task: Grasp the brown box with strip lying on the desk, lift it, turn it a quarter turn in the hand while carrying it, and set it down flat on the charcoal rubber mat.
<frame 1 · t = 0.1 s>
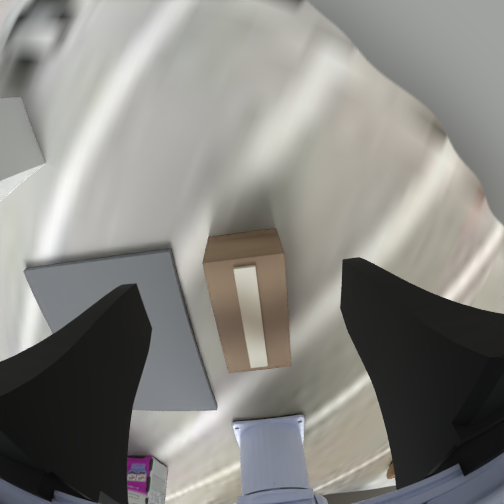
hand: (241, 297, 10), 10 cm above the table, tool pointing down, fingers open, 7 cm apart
candy bar box: (134, 461, 35), on the table
white cube: (11, 149, 16), on the table
brown box with strip: (250, 288, 22), on the table
rubber mat: (123, 348, 24), on the table
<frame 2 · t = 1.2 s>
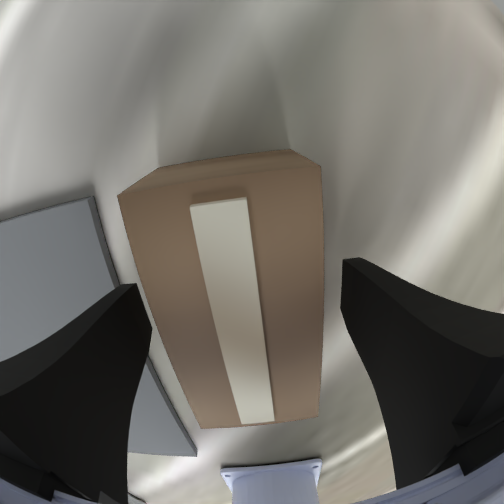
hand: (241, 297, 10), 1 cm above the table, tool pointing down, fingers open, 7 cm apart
candy bar box: (106, 492, 25), on the table
brown box with strip: (240, 273, 12), on the table
rubber mat: (52, 367, 14), on the table
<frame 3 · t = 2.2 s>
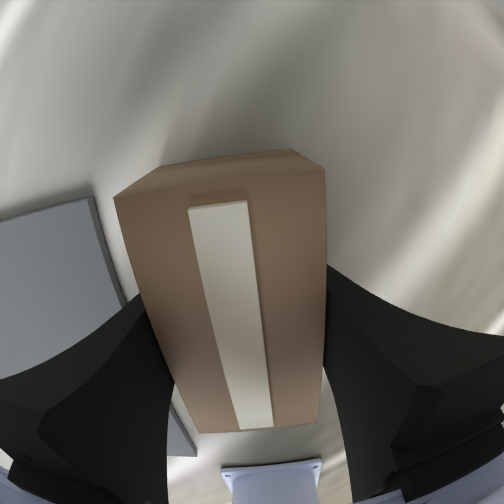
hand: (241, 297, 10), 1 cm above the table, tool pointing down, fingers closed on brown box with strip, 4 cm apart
brown box with strip: (240, 275, 11), on the table, touching gripper
rubber mat: (52, 367, 14), on the table
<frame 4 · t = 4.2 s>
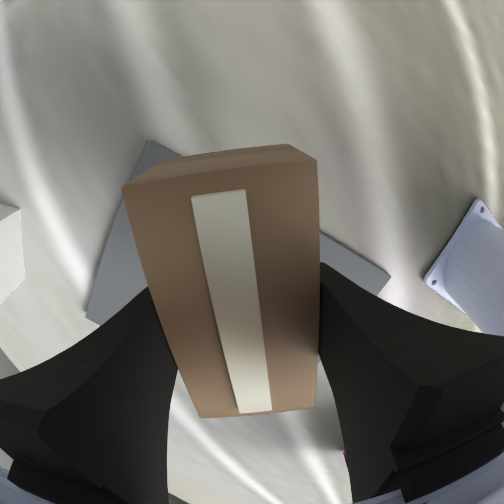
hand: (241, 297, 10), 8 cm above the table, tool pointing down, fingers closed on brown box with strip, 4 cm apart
white cube: (0, 236, 17), on the table
brown box with strip: (239, 264, 12), point 6 cm above the table, touching gripper
rubber mat: (229, 298, 20), on the table
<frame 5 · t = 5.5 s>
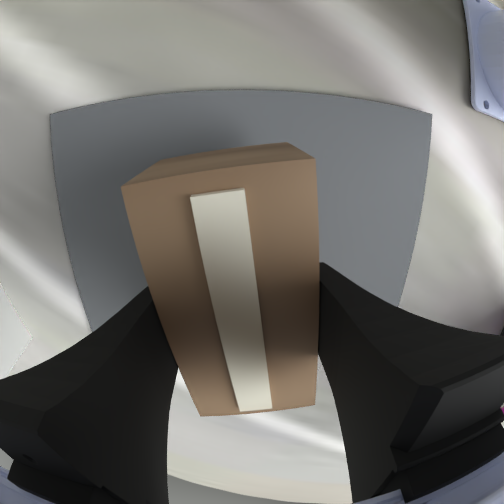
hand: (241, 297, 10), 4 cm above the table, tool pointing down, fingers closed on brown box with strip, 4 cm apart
brown box with strip: (239, 263, 12), point 2 cm above the table, touching gripper
rubber mat: (240, 244, 14), on the table
when the fingers open (3 cm above the table, at t = 6.6 s): brown box with strip stays where it is, resting on rubber mat.
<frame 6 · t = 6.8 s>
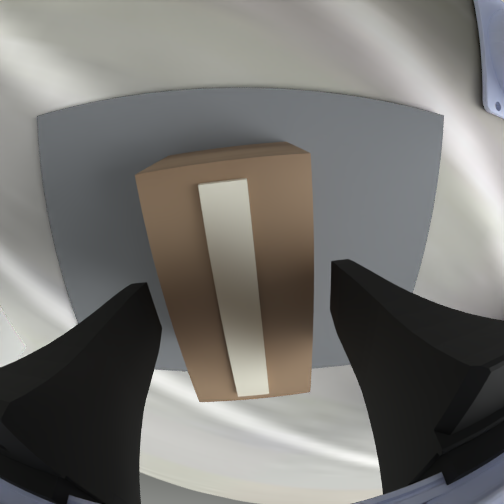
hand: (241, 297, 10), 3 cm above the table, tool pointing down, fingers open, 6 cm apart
brown box with strip: (239, 254, 13), resting on rubber mat
rubber mat: (240, 254, 13), on the table
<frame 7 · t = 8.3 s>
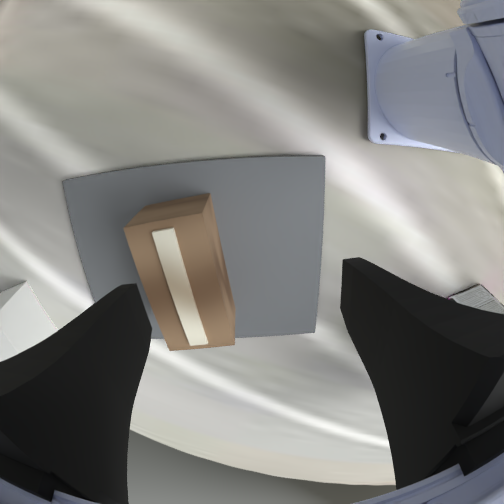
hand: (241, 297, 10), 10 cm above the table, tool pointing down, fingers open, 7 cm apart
candy bar box: (457, 327, 26), on the table
white cube: (27, 310, 23), on the table
brown box with strip: (192, 261, 21), resting on rubber mat
rubber mat: (193, 260, 21), on the table
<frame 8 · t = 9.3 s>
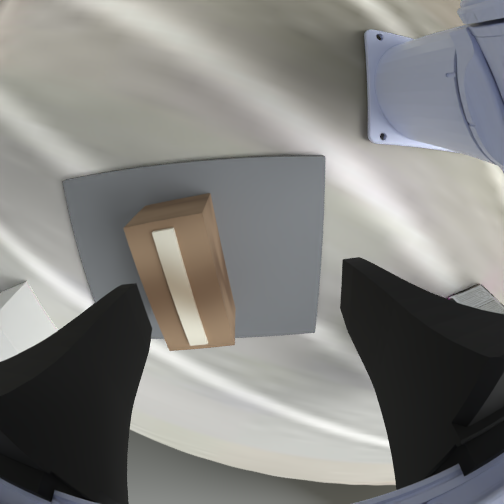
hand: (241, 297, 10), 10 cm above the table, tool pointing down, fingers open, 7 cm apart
candy bar box: (457, 327, 26), on the table
white cube: (27, 310, 23), on the table
brown box with strip: (192, 261, 21), resting on rubber mat
rubber mat: (193, 260, 21), on the table
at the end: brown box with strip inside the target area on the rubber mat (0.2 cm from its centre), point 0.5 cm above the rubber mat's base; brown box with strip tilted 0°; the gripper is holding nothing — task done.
